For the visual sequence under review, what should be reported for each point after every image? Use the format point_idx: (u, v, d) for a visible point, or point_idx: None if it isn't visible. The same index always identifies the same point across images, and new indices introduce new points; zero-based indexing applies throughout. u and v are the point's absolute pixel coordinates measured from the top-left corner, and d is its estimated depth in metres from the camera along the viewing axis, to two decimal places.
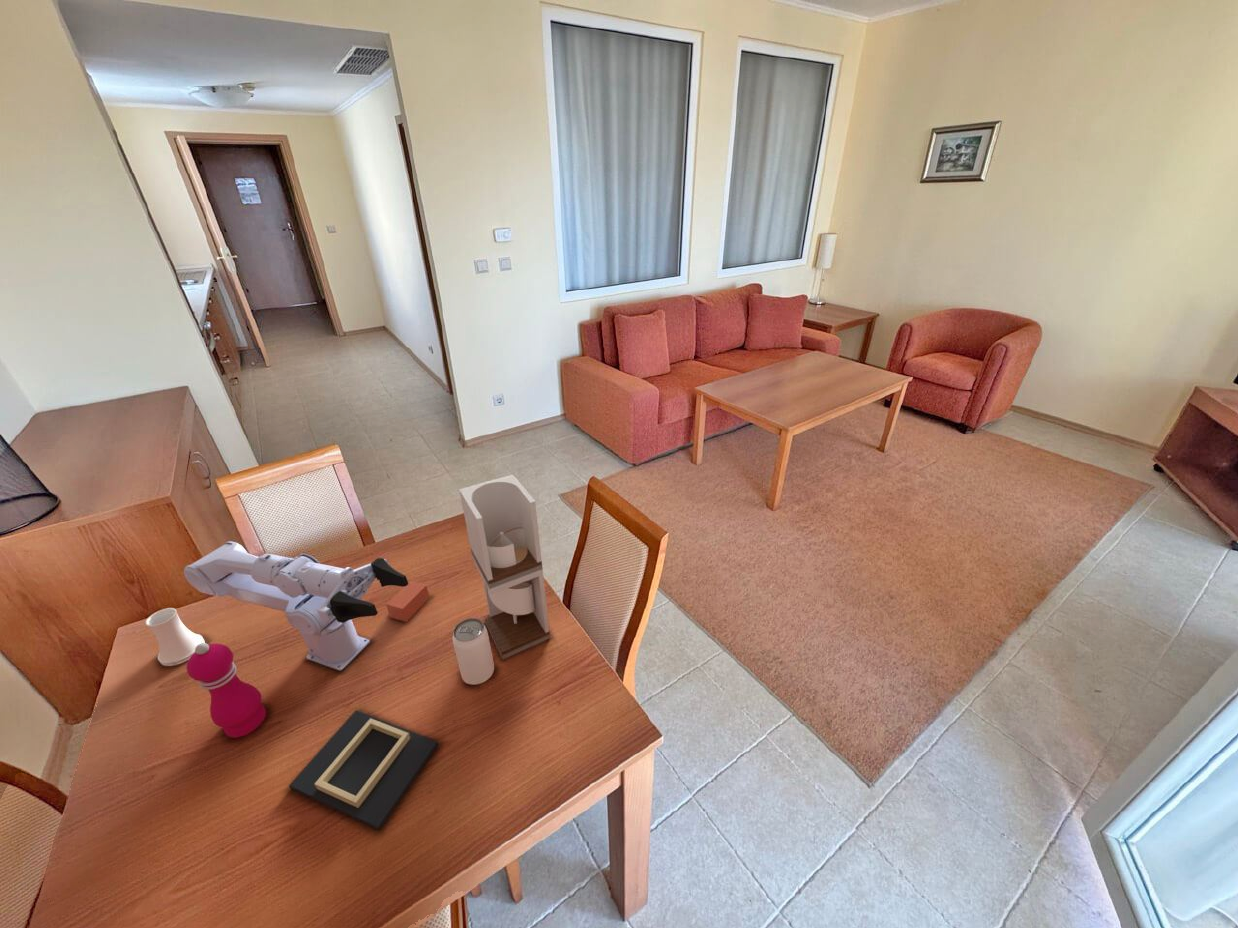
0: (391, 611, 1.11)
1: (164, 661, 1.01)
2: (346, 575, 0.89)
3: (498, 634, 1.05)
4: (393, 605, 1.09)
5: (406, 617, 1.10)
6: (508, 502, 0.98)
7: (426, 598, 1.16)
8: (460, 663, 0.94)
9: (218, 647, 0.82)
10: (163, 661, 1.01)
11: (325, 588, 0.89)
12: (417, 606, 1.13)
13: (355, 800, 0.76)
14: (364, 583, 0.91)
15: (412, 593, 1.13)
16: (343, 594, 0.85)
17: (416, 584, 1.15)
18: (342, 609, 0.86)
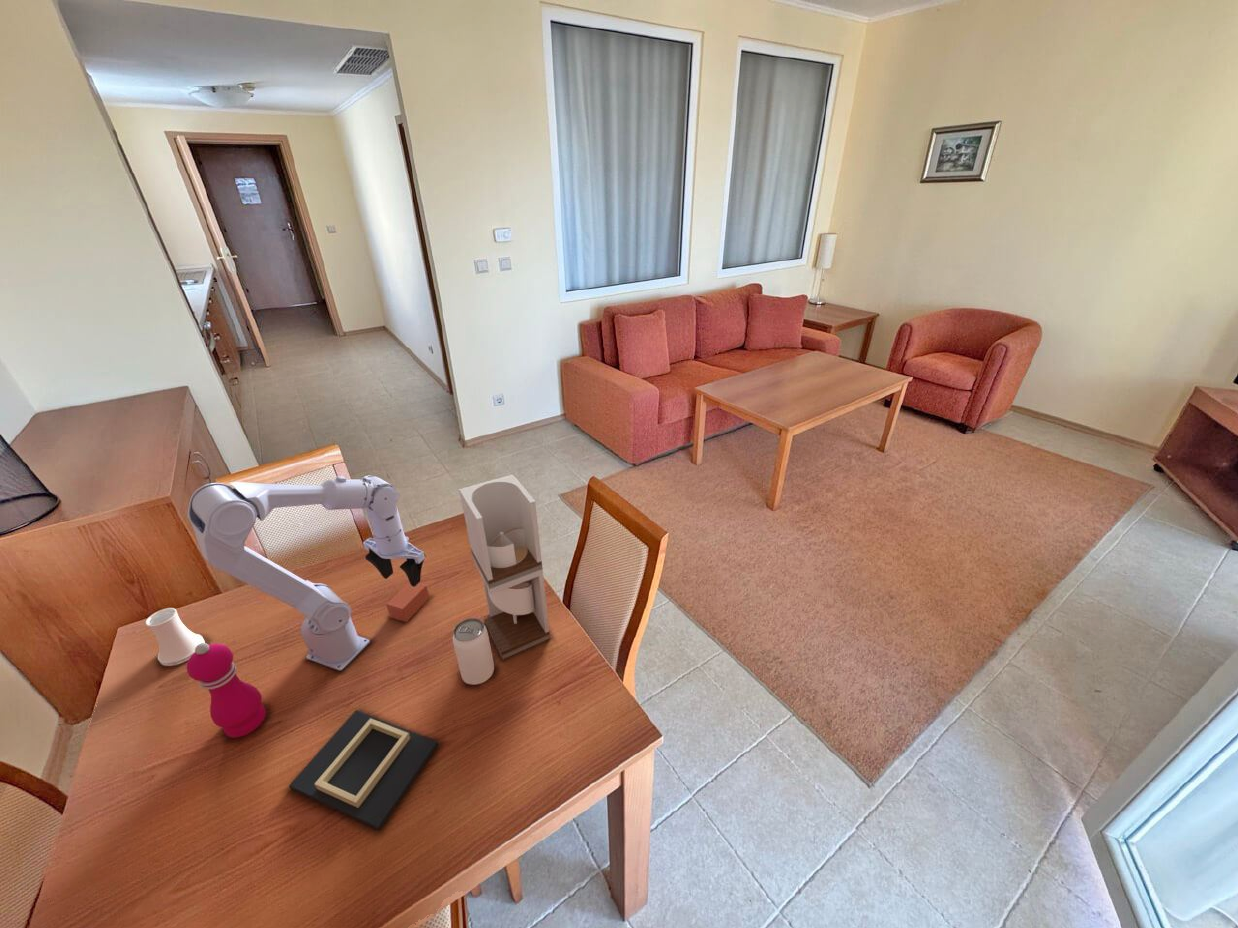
0: (391, 611, 1.11)
1: (164, 661, 1.01)
2: None
3: (498, 634, 1.05)
4: (393, 605, 1.09)
5: (406, 617, 1.10)
6: (508, 502, 0.98)
7: (426, 598, 1.16)
8: (460, 663, 0.94)
9: (218, 646, 0.82)
10: (163, 661, 1.01)
11: (403, 534, 1.05)
12: (417, 606, 1.13)
13: (355, 800, 0.76)
14: None
15: (412, 593, 1.13)
16: None
17: None
18: None
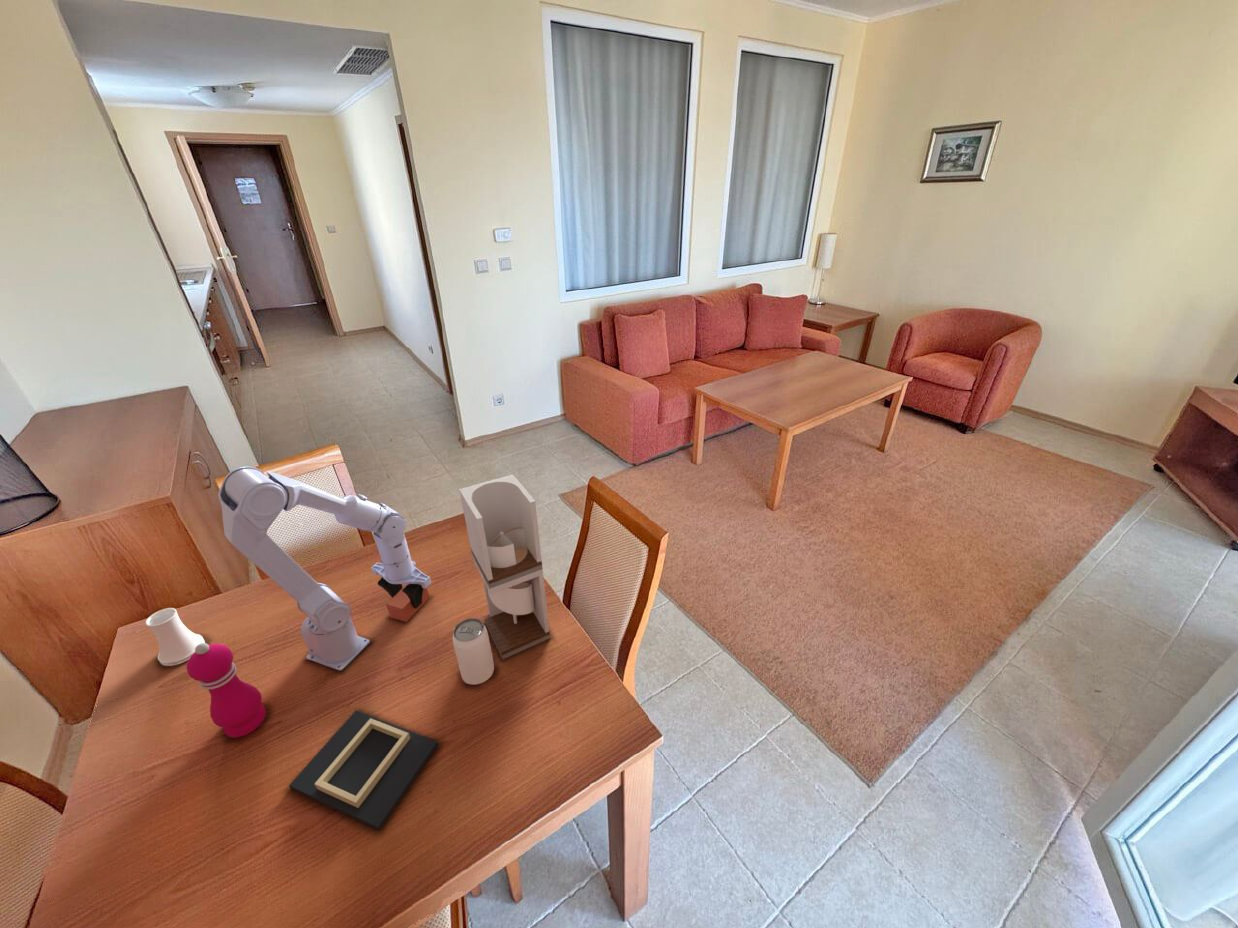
0: (390, 611, 1.11)
1: (164, 661, 1.01)
2: None
3: (498, 634, 1.05)
4: (393, 605, 1.09)
5: (405, 617, 1.10)
6: (508, 502, 0.98)
7: (426, 598, 1.16)
8: (460, 663, 0.94)
9: (218, 646, 0.82)
10: (163, 661, 1.01)
11: (410, 560, 1.08)
12: None
13: (355, 800, 0.76)
14: None
15: None
16: None
17: None
18: None
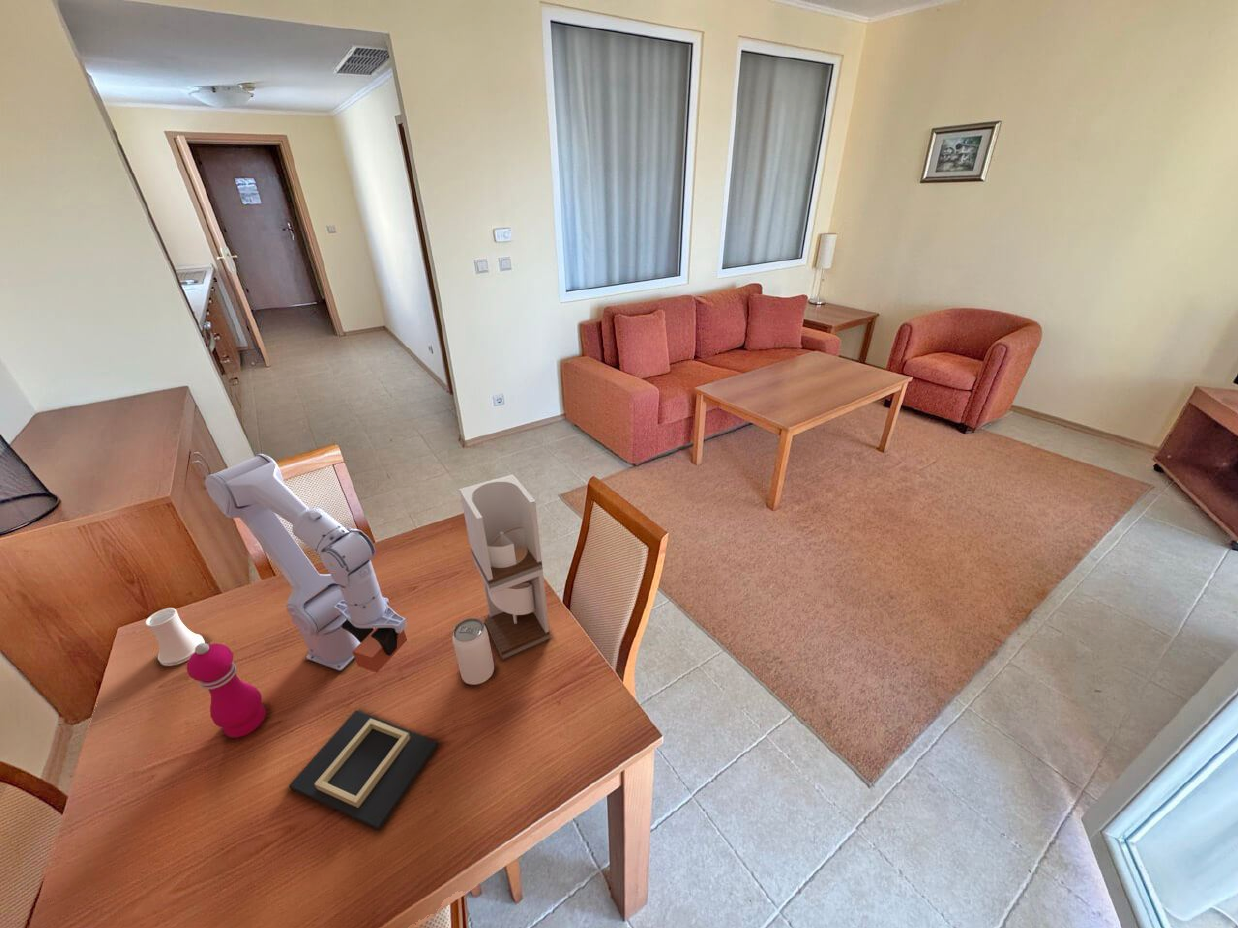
0: (358, 659, 0.91)
1: (164, 661, 1.01)
2: None
3: (498, 634, 1.05)
4: (361, 653, 0.90)
5: (376, 666, 0.90)
6: (508, 502, 0.98)
7: (403, 641, 0.96)
8: (460, 663, 0.94)
9: (218, 646, 0.82)
10: (163, 661, 1.01)
11: (380, 598, 0.88)
12: None
13: (355, 800, 0.76)
14: None
15: None
16: None
17: None
18: None
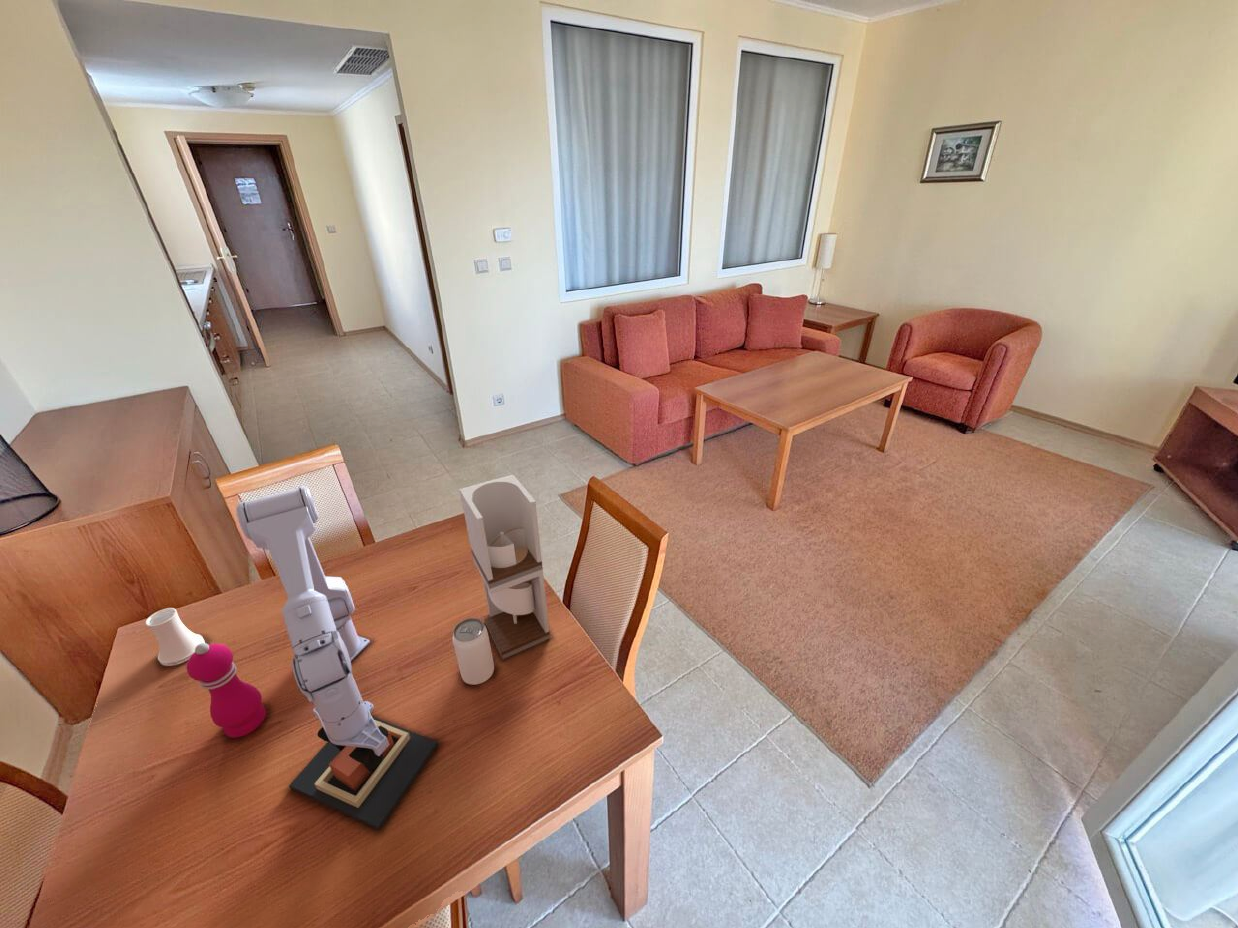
0: (335, 773, 0.79)
1: (164, 661, 1.01)
2: None
3: (498, 634, 1.05)
4: (338, 768, 0.77)
5: (354, 785, 0.78)
6: (508, 502, 0.98)
7: (389, 749, 0.84)
8: (460, 663, 0.94)
9: (218, 646, 0.82)
10: (163, 661, 1.01)
11: (361, 710, 0.76)
12: None
13: (355, 800, 0.76)
14: None
15: None
16: None
17: None
18: None
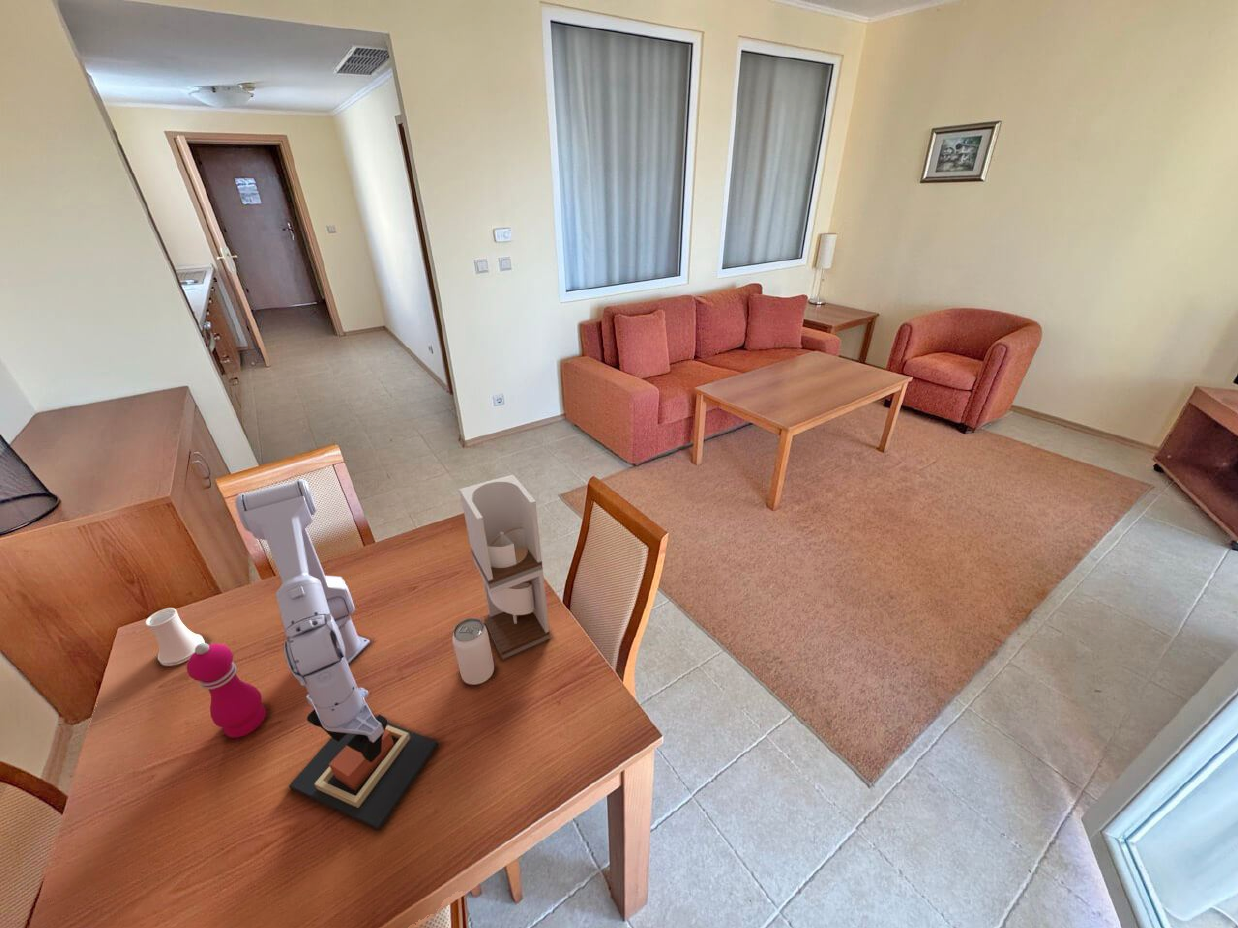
0: (335, 773, 0.79)
1: (164, 661, 1.01)
2: None
3: (498, 634, 1.05)
4: (338, 768, 0.77)
5: (354, 785, 0.78)
6: (508, 502, 0.98)
7: (389, 749, 0.84)
8: (460, 663, 0.94)
9: (218, 646, 0.82)
10: (163, 661, 1.01)
11: (355, 696, 0.74)
12: (374, 764, 0.81)
13: (355, 800, 0.76)
14: None
15: None
16: None
17: None
18: None
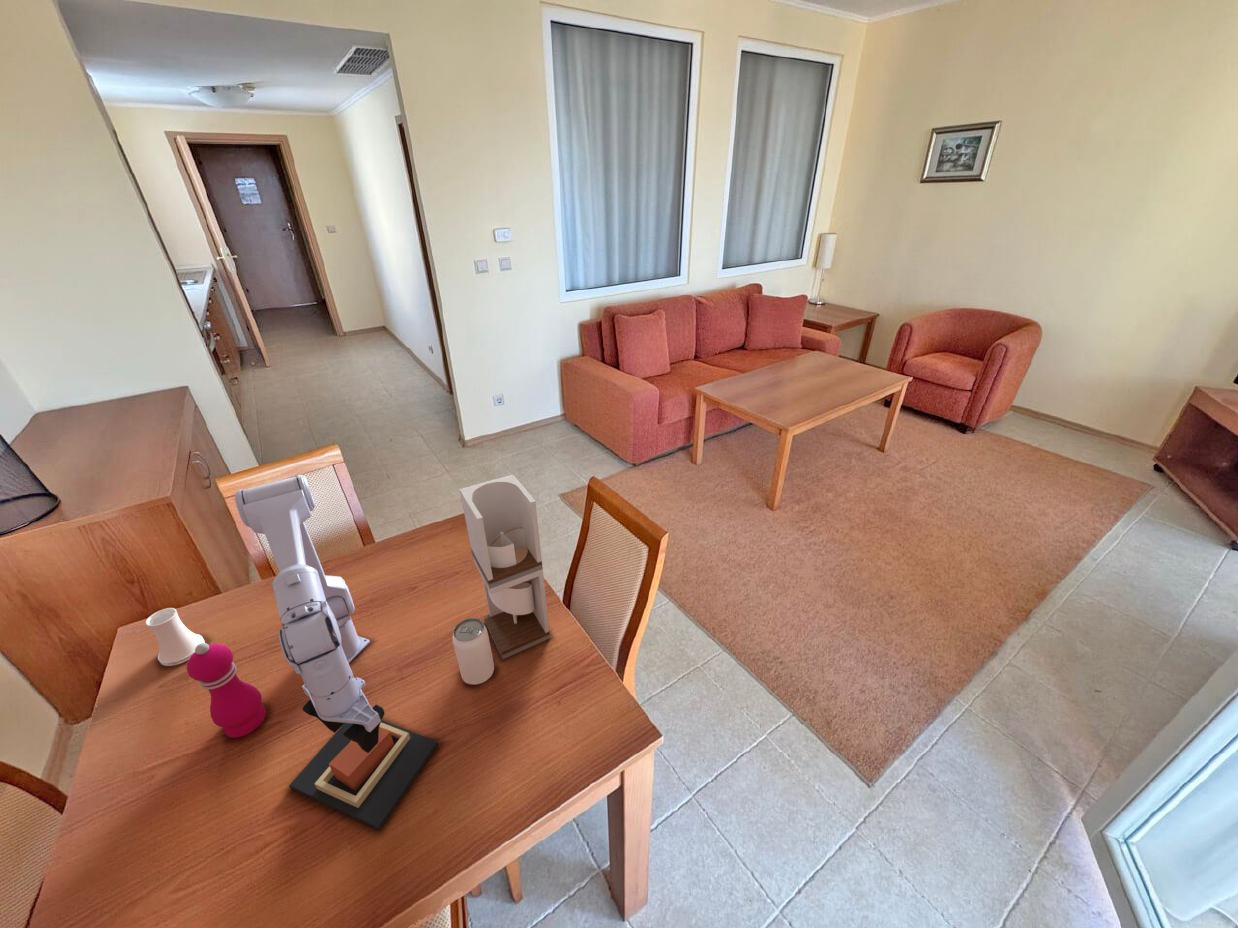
0: (335, 773, 0.79)
1: (164, 661, 1.01)
2: None
3: (498, 634, 1.05)
4: (338, 768, 0.77)
5: (354, 785, 0.78)
6: (508, 502, 0.98)
7: (389, 749, 0.84)
8: (460, 663, 0.94)
9: (218, 646, 0.82)
10: (163, 661, 1.01)
11: (351, 685, 0.73)
12: (374, 764, 0.81)
13: (355, 800, 0.76)
14: None
15: None
16: None
17: None
18: None
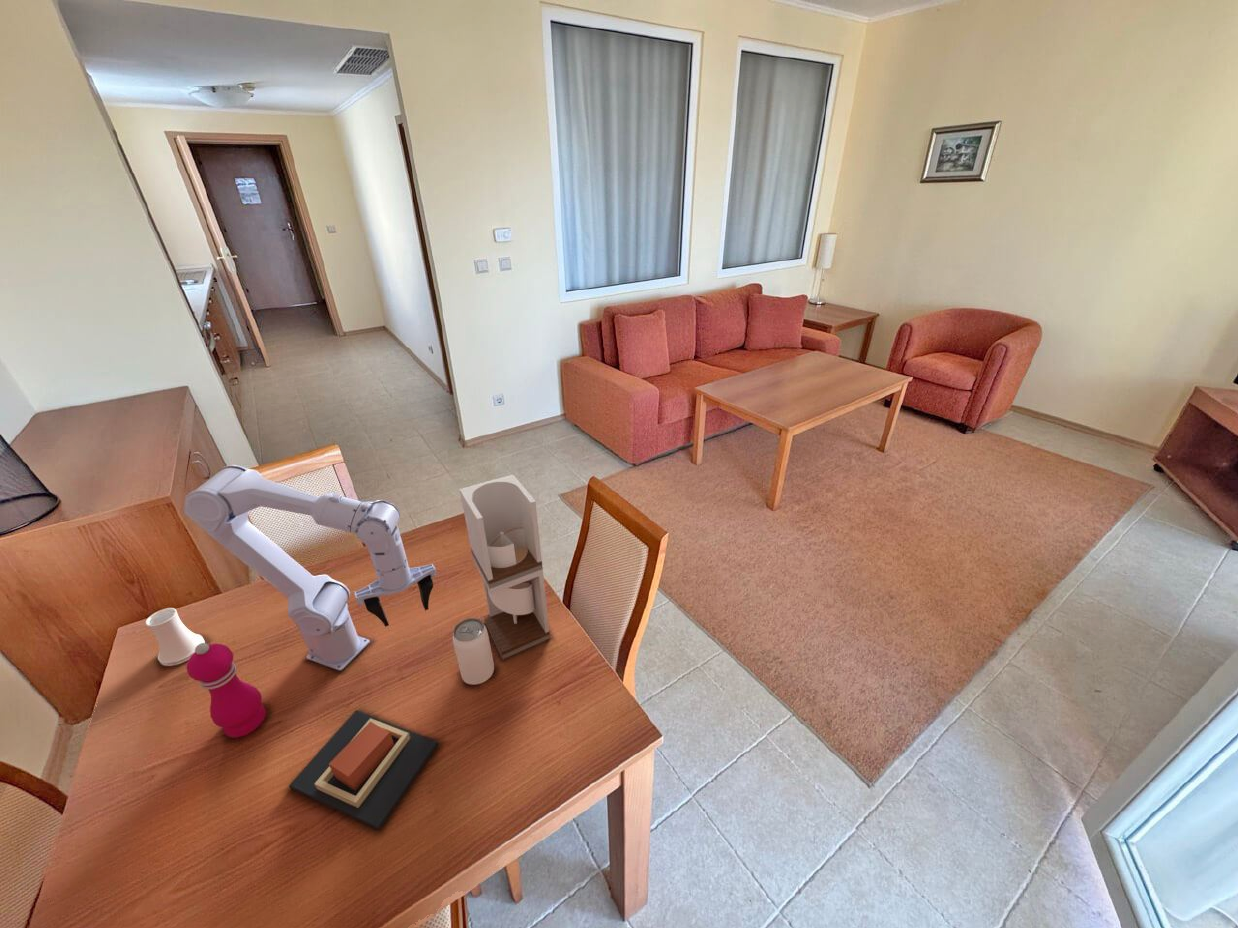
0: (335, 773, 0.79)
1: (164, 661, 1.01)
2: None
3: (498, 634, 1.05)
4: (338, 768, 0.77)
5: (354, 785, 0.78)
6: (508, 502, 0.98)
7: (389, 749, 0.84)
8: (460, 663, 0.94)
9: (218, 646, 0.82)
10: (163, 661, 1.01)
11: None
12: (374, 764, 0.81)
13: (355, 800, 0.76)
14: None
15: (368, 746, 0.81)
16: None
17: (376, 729, 0.83)
18: None
